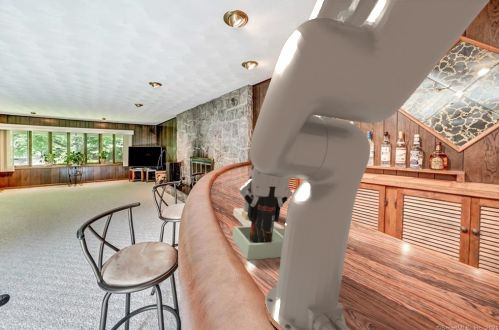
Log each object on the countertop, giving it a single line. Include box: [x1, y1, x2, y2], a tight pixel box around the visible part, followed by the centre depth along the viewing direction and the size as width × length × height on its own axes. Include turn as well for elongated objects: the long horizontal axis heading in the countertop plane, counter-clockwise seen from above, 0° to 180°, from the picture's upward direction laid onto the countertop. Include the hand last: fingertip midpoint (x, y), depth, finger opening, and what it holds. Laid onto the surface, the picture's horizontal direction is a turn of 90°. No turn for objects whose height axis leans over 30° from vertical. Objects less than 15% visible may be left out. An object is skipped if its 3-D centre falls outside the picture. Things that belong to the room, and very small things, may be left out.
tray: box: [231, 225, 284, 261], centre depth 58 cm, size 12×12×4 cm
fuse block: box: [232, 190, 285, 236], centre depth 75 cm, size 21×10×12 cm, turn 22°
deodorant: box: [249, 186, 277, 243], centre depth 57 cm, size 6×6×15 cm
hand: (263, 219), depth 58 cm, fingers closed on deodorant, 5 cm apart
